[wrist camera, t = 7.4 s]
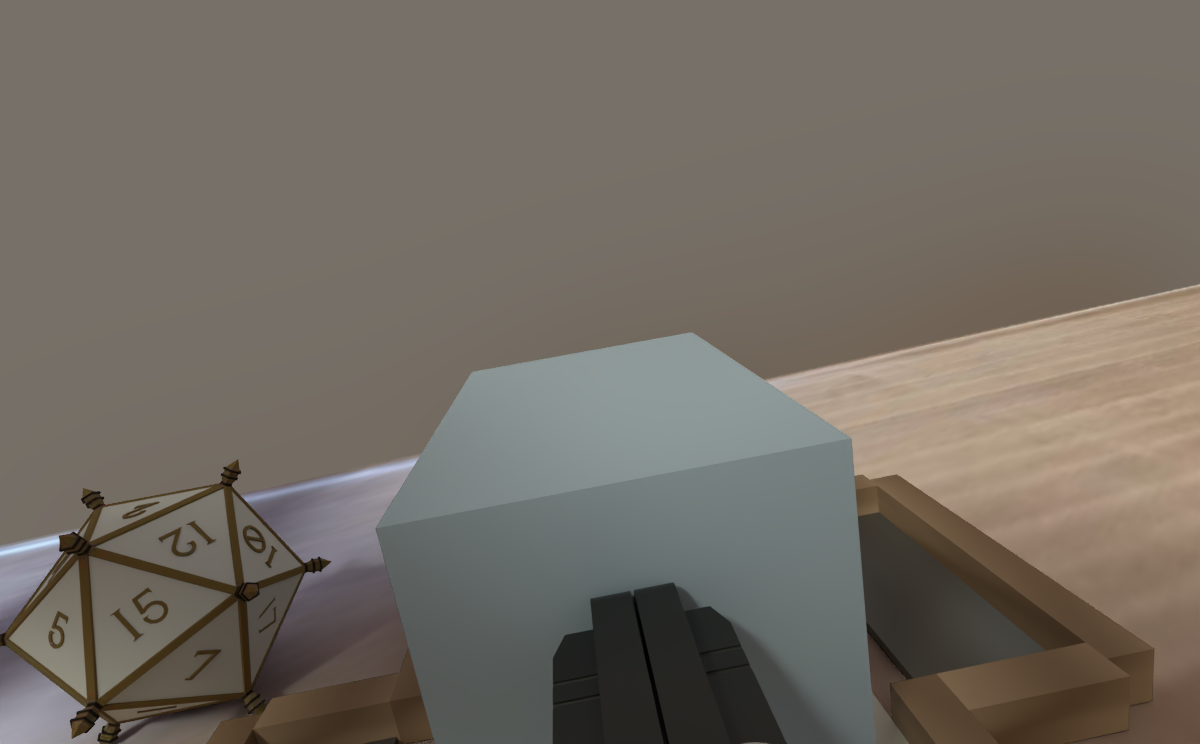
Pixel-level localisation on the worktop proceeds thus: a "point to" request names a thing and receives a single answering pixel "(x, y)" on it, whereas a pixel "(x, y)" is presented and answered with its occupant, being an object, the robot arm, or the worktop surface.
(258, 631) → the game die
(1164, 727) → the worktop surface
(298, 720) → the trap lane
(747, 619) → the brick
